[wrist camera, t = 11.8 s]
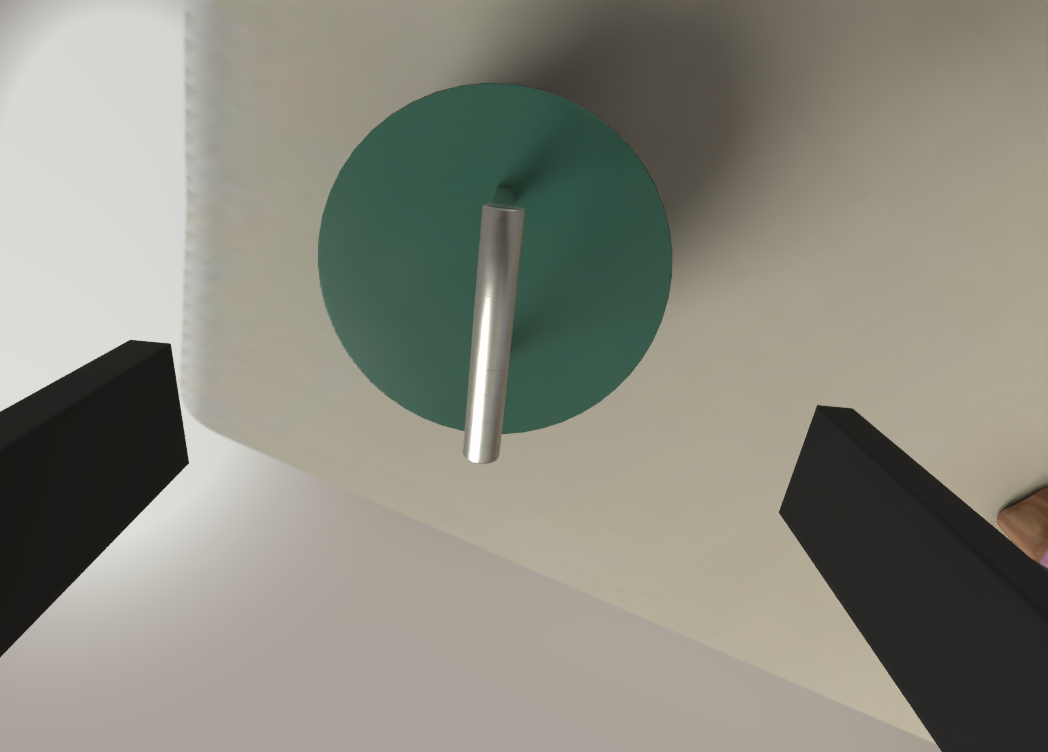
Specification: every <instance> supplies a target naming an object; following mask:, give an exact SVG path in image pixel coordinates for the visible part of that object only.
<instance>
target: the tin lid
mask: <svg viewBox="0 0 1048 752" xmlns="http://www.w3.org/2000/svg"><path fill="white" fill-rule="evenodd" d="M318 267H319V277H320V286H321V290H322V294H323V298H324V303H325V307H326V310H327V312H328V315H329V318H330V320H331V323H332V326H333V328H334V330H335V332H336V334H337V336H338V338H339V340H340V341H341V343H342V345H343V347H344V349H345V350H346V352H347V353H348V354H349V356H350V357H351V359H352V360H353V362H354V363H355V364H356V366H357V367H358V368H359V369H360V370H361V371H362V373H363V374H364V375H365V376H366V377H367V378H368V379H369V380H370V382H371V383H373V384H374V385H375V386H376V387H377V388H378V389H379V390H381V391H382V392H383V393H384V394H385V395H386V396H388V397H389V398H390V399H392V400H393V401H395V402H396V403H398V404H399V405H401V406H402V407H404V408H405V409H407V410H409V411H411V412H413V413H415V414H417V415H418V416H420V417H422V418H425V419H427V420H430V421H432V422H435V423H437V424H440V425H443V426H447V427H450V428H454V429H458V430H462V431H465V435H464V448H463V454H464V456H465V458H466V459H468V460H469V461H471V462H474V463H479V464H487V463H492V462H494V461H496V460H497V459H498V457H499V453H500V444H501V434H509V433H521V432H527V431H532V430H537V429H542V428H545V427H548V426H551V425H555V424H558V423H561V422H563V421H566V420H568V419H570V418H572V417H574V416H576V415H578V414H581V413H582V412H584V411H586V410H587V409H589V408H591V407H592V406H594V405H595V404H597V403H599V402H600V401H601V400H602V399H604V398H605V397H606V396H607V395H609V394H610V393H611V392H613V391H614V390H615V389H616V388H617V387H618V386H619V385H620V384H621V383H622V382H623V381H624V380H625V379H626V378H627V377H628V376H629V375H630V374H631V372H632V371H633V370H634V368H635V367H636V366H637V365H638V363H639V362H640V361H641V359H642V358H643V356H644V355H645V353H646V351H647V350H648V348H649V346H650V345H651V343H652V341H653V340H654V337H655V335H656V333H657V330H658V328H659V326H660V323H661V321H662V319H663V315H664V312H665V308H666V305H667V301H668V297H669V291H670V284H671V278H672V247H671V238H670V229H669V225H668V221H667V218H666V214H665V210H664V206H663V204H662V201H661V199H660V196H659V194H658V191H657V189H656V186H655V184H654V182H653V180H652V179H651V177H650V175H649V173H648V172H647V170H646V168H645V166H644V165H643V163H642V162H641V160H640V159H639V158H638V156H637V155H636V154H635V153H634V151H633V150H632V149H631V147H630V146H629V145H628V144H627V142H626V141H624V140H623V139H622V138H621V137H620V136H619V135H618V134H617V133H616V132H615V131H614V130H613V129H612V128H611V127H610V126H609V125H608V124H606V123H605V122H604V121H602V120H601V119H599V118H598V117H597V116H595V115H594V114H593V113H591V112H590V111H589V110H587V109H585V108H583V107H581V106H579V105H577V104H575V103H574V102H572V101H570V100H568V99H566V98H564V97H561V96H558V95H555V94H552V93H550V92H547V91H544V90H541V89H537V88H532V87H527V86H522V85H517V84H502V83H481V84H471V85H462V86H458V87H454V88H450V89H446V90H442V91H437V92H435V93H432V94H430V95H428V96H425V97H423V98H420V99H418V100H416V101H413V102H411V103H410V104H408V105H406V106H405V107H403V108H401V109H400V110H398V111H396V112H395V113H393V114H391V115H390V116H389V117H388V118H386V119H385V120H384V121H383V122H382V123H380V124H379V125H378V126H377V127H375V128H374V129H373V130H372V131H371V132H370V133H369V134H368V135H367V136H366V137H365V138H364V139H363V141H362V142H361V143H360V144H359V145H358V146H357V147H356V148H355V149H354V151H353V152H352V154H351V155H350V157H349V158H348V160H347V161H346V163H345V164H344V166H343V167H342V169H341V170H340V172H339V174H338V176H337V179H336V181H335V183H334V185H333V187H332V189H331V191H330V194H329V197H328V200H327V203H326V206H325V209H324V213H323V216H322V222H321V228H320V234H319V245H318Z"/></svg>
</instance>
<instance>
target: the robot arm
mask: <svg viewBox="0 0 1048 752" xmlns="http://www.w3.org/2000/svg"><path fill="white" fill-rule="evenodd" d="M188 464H189V461H188V455H187V447H186V441H185V435H184V428H183V421H182V416H181V408H180V402H179V395H178V389H177V383H176V376H175V369H174V363H173V356H172V349H171V344H168V343H157V342H146V341H136V340H129V341H127V342H126V343H124V344H122V345H120V346H118V347H117V348H115V349H113V350H111V351H110V352H108V353H106V354H104V355H102V356H100V357H99V358H97V359H95V360H93V361H91V362H89V363H88V364H86V365H84V366H83V367H80V368H79V369H77V370H75V371H73V372H72V373H70V374H68V375H66V376H65V377H62V378H61V379H59V380H57V381H55V382H53V383H51V384H50V385H48V386H46V387H44V388H42V389H41V390H39V391H37V392H35V393H33V394H32V395H30V396H28V397H26V398H24V399H23V400H21V401H19V402H17V403H16V404H14V405H12V406H10V407H8V408H6V409H4V410H3V411H1V412H0V657H1V656H2V655H3V654H4V653H5V652H6V651H7V650H8V648H10V647H11V646H12V645H13V644H14V643H15V641H16V640H17V639H18V638H19V637H20V636H21V635H22V634H23V633H24V632H25V631H26V630H27V629H28V628H29V627H30V626H31V625H32V624H33V623H34V622H35V621H36V620H37V619H38V618H39V617H40V616H41V615H42V614H43V613H44V612H45V611H46V610H47V609H48V608H49V606H50V605H51V604H52V603H53V602H54V601H55V600H56V599H57V598H58V597H59V596H60V595H61V594H62V593H63V592H64V591H65V590H66V589H67V588H68V587H69V586H70V585H71V584H72V583H73V582H74V581H75V580H76V579H77V578H78V577H79V576H80V575H81V573H83V572H84V571H85V569H86V568H87V567H88V566H89V565H90V564H91V563H92V562H93V561H94V560H95V559H96V558H97V557H98V556H99V555H100V554H101V553H102V552H103V551H104V550H105V549H106V547H108V546H109V545H110V543H112V542H113V541H114V540H115V538H117V536H118V535H120V533H121V532H122V531H123V530H124V529H125V528H126V527H127V526H128V525H129V524H130V523H131V522H132V521H133V520H134V519H135V518H136V517H137V516H138V515H139V514H140V513H141V512H142V511H143V510H144V509H145V508H146V507H147V506H148V505H149V503H151V502H152V501H153V499H154V498H155V497H156V496H157V495H158V494H159V493H160V492H161V491H162V490H163V489H164V488H165V487H166V486H167V485H168V484H169V483H170V482H171V481H172V480H173V479H174V478H175V477H176V476H177V475H178V474H179V473H180V472H181V471H182V470H183V468H185V466H186V465H188ZM779 513H780V515H781V516H782V518H783V519H784V521H785V522H786V524H787V525H788V527H789V528H790V529H791V531H792V532H793V534H794V535H795V537H796V538H797V540H798V541H799V543H800V544H801V546H802V547H803V549H804V550H805V551H806V553H807V554H808V556H809V557H810V559H811V560H812V562H813V563H814V565H815V566H816V568H817V569H818V571H819V572H820V573H821V575H822V576H823V578H824V579H825V581H826V582H827V584H828V585H829V587H830V588H831V590H832V591H833V593H834V594H835V596H836V597H837V598H838V600H839V601H840V603H841V604H842V606H843V607H844V609H845V610H846V612H847V613H848V615H849V616H850V618H851V619H852V620H853V622H854V623H855V625H856V626H857V628H858V629H859V631H860V632H861V634H862V635H863V637H864V638H865V640H866V641H867V642H868V644H869V645H870V647H871V648H872V650H873V651H874V653H875V654H876V656H877V657H878V659H879V660H880V662H881V663H882V664H883V666H884V667H885V669H886V670H887V672H888V673H889V675H890V676H891V678H892V679H893V681H894V682H895V684H896V685H897V686H898V688H899V689H900V691H901V692H902V694H903V695H904V697H905V698H906V700H907V701H908V703H909V704H910V706H911V707H912V708H913V710H914V711H915V713H916V714H917V716H918V717H919V719H920V720H921V722H922V723H923V725H924V726H925V728H926V729H927V730H928V732H929V733H930V735H931V736H932V738H933V739H934V741H935V742H936V744H937V745H938V747H939V748H940V750H941V751H942V752H1048V568H1046V567H1045V566H1043V565H1041V564H1040V563H1038V562H1036V561H1035V560H1033V559H1032V558H1030V557H1029V556H1028V555H1027V554H1025V553H1024V552H1023V551H1022V550H1021V549H1020V548H1018V547H1017V546H1016V545H1015V544H1014V543H1012V542H1011V541H1010V540H1009V539H1008V538H1006V537H1005V536H1004V535H1003V534H1002V533H1000V532H999V531H998V530H997V529H996V528H994V527H993V526H992V525H991V524H990V523H988V522H987V521H986V520H985V519H984V518H983V517H981V516H980V515H979V514H978V513H977V512H975V511H974V510H973V509H972V508H971V507H969V506H968V505H967V504H966V503H965V502H963V501H962V500H961V499H960V498H959V497H957V496H956V495H955V494H954V493H953V492H951V491H950V490H949V489H948V488H947V487H946V486H944V485H943V484H942V483H941V482H940V481H938V480H937V479H936V478H935V477H934V476H932V475H931V474H930V473H929V472H928V471H926V470H925V469H924V468H923V467H922V466H920V465H919V464H918V463H917V462H916V461H914V460H913V459H912V458H911V457H910V456H909V455H907V454H906V453H905V452H904V451H903V450H901V449H900V448H899V447H898V446H897V445H895V444H894V443H893V442H892V441H891V440H889V439H888V438H887V437H886V436H885V435H883V434H882V433H881V432H880V431H879V430H877V429H876V428H875V427H874V426H873V425H871V424H870V423H869V422H868V421H867V420H866V419H864V418H863V417H862V416H861V415H860V414H858V413H857V412H856V411H855V410H854V409H851V408H841V407H830V406H820V405H817V408H816V410H815V413H814V416H813V419H812V421H811V424H810V427H809V430H808V433H807V435H806V438H805V441H804V444H803V447H802V449H801V452H800V455H799V458H798V461H797V463H796V466H795V469H794V472H793V474H792V477H791V480H790V483H789V486H788V488H787V491H786V494H785V497H784V500H783V502H782V505H781V508H780V511H779Z"/></svg>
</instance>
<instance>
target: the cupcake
mask: <svg viewBox="0 0 1048 752" xmlns="http://www.w3.org/2000/svg"><path fill="white" fill-rule="evenodd" d="M997 523H998V525H999V526H1000V528H1001V529H1002V530H1003V531H1004V532H1005V533H1006V535H1007V536H1008V537H1009V538H1010V540H1011V541H1012V543H1014V544H1015V545H1016V546H1017V547H1018V548H1020V549H1021V550H1022V551H1023V552H1024V553H1025V554H1027V555H1028V556H1029V557H1030V558H1032V559H1033V560H1035V561H1036V562H1038V563H1040V564H1041V565H1043V566H1045V567H1046V568H1048V488H1045V489H1043V490H1041V491H1039V492H1037V493H1036V494H1034V495H1032V496H1030V497H1028V498H1027V499H1025V500H1023V501H1021V502H1019V503H1017V504H1015V505H1013V506H1011V507H1008V508H1006V509H1004V510H1003V511H1001V512H1000V514H999V515H998V518H997Z"/></svg>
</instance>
